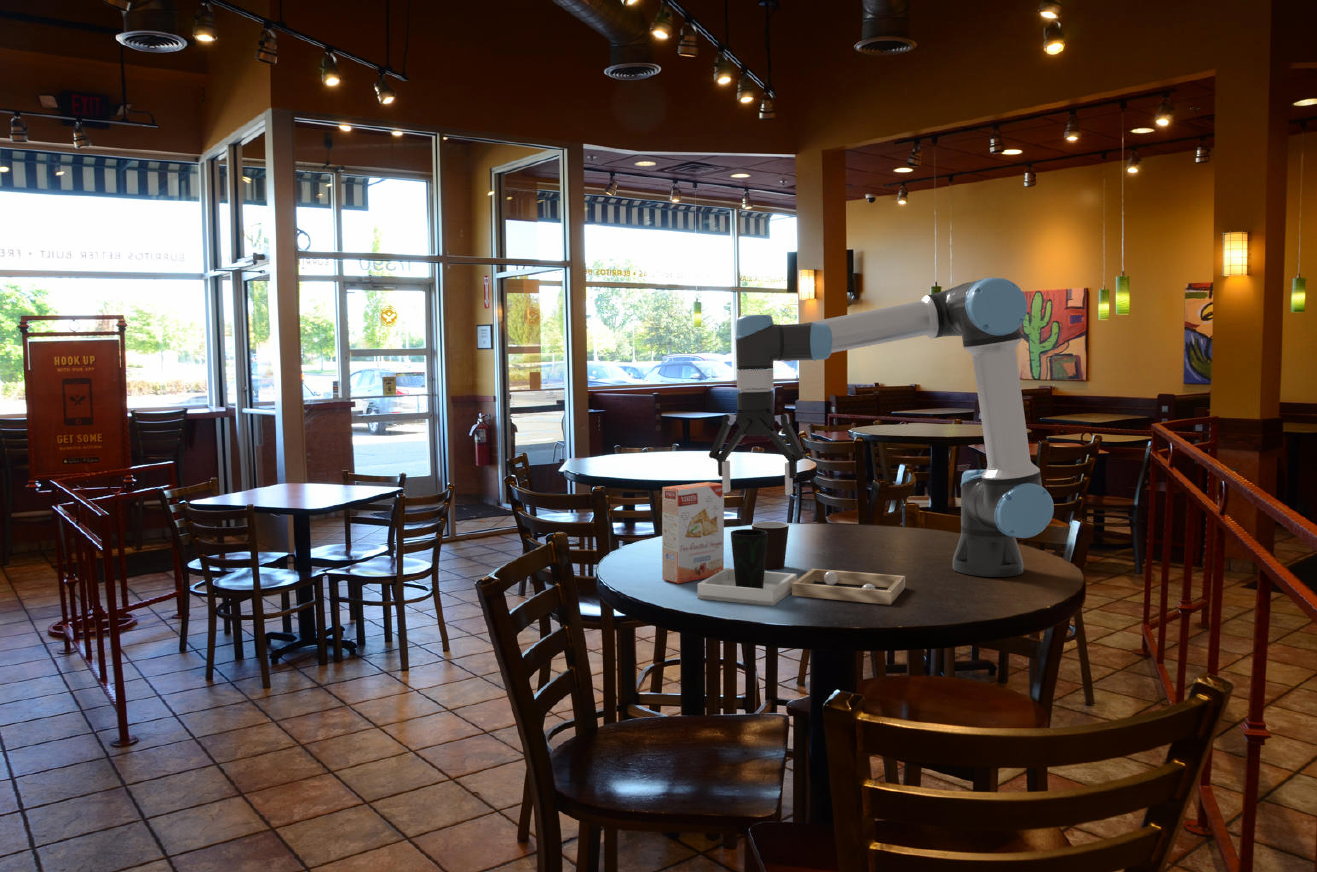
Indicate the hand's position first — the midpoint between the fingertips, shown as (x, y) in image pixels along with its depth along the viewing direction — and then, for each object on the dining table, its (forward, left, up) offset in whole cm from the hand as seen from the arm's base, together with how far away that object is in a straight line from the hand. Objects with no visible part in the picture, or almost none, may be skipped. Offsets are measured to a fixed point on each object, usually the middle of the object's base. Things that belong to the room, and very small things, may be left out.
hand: (757, 493), depth 197 cm
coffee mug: (+5, -25, -21) cm, 33 cm away
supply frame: (-18, -7, -21) cm, 28 cm away
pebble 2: (-23, -3, -21) cm, 31 cm away
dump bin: (+1, +2, -21) cm, 21 cm away
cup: (+1, +2, -20) cm, 20 cm away
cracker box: (+17, -7, -21) cm, 28 cm away
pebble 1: (-13, -11, -21) cm, 27 cm away
